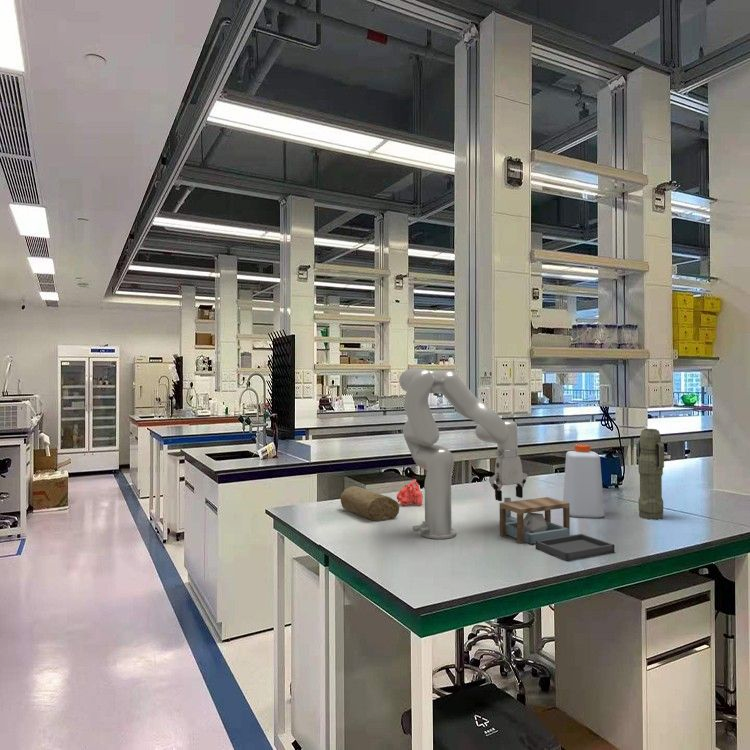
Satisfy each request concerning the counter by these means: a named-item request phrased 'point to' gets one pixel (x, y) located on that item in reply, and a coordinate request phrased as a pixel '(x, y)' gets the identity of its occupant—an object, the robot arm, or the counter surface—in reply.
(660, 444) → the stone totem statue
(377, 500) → the core sample
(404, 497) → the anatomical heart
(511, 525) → the sliding frame
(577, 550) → the tray
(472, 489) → the counter surface
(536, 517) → the grey rock
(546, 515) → the small wooden table
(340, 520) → the counter surface
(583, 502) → the plastic bottle
